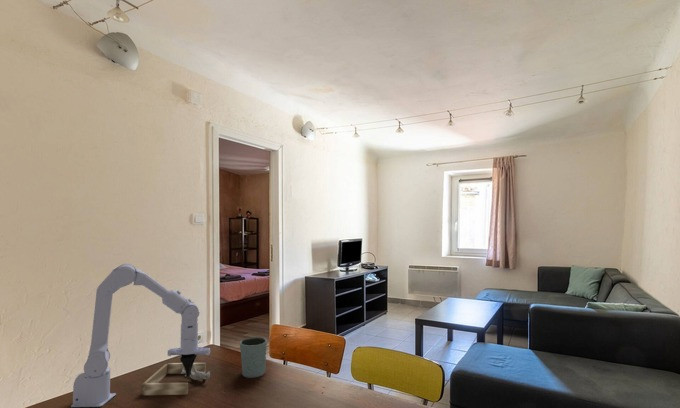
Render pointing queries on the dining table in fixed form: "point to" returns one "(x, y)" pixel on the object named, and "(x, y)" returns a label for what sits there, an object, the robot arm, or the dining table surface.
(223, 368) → the dining table surface
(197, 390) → the dining table surface
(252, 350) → the green cup
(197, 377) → the soldier figure
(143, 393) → the beech frame
